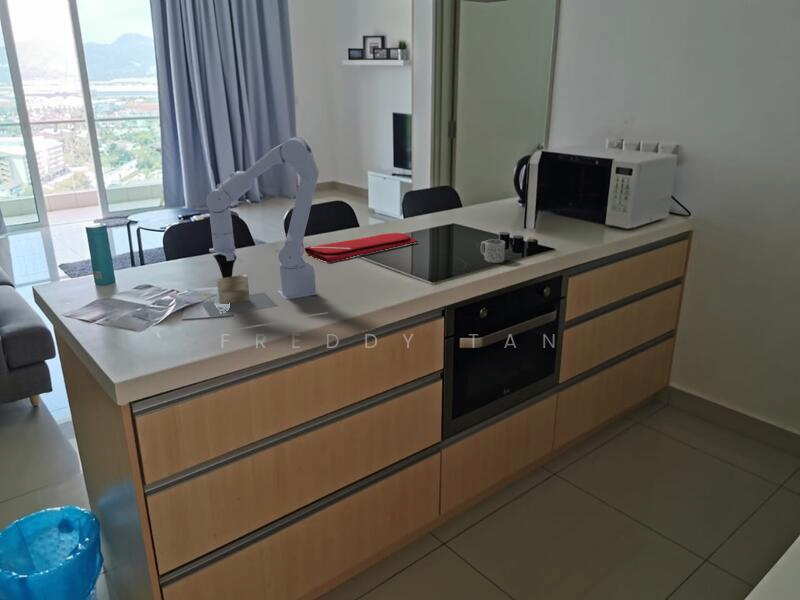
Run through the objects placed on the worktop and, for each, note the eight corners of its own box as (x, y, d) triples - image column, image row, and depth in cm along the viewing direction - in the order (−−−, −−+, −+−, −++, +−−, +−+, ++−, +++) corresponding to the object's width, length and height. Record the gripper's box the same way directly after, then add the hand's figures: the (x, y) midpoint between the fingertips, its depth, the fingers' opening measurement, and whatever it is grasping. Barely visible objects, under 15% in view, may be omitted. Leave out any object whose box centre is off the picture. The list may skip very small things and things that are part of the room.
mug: (508, 260, 206) (509, 242, 204) (494, 264, 203) (495, 245, 200) (487, 254, 214) (488, 236, 212) (473, 257, 210) (474, 239, 208)
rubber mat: (264, 293, 175) (264, 292, 175) (278, 307, 164) (277, 305, 164) (201, 304, 167) (201, 302, 167) (211, 319, 156) (211, 317, 156)
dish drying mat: (418, 245, 229) (418, 235, 228) (328, 265, 204) (327, 254, 203) (392, 237, 240) (392, 228, 239) (304, 255, 216) (303, 245, 215)
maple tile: (247, 298, 170) (245, 274, 168) (249, 300, 169) (247, 276, 166) (219, 302, 167) (216, 278, 164) (221, 304, 165) (218, 280, 163)
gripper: (202, 229, 171) (207, 274, 176) (213, 239, 159) (218, 288, 164) (227, 226, 174) (231, 270, 179) (239, 236, 162) (244, 284, 167)
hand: (227, 278), depth 172 cm, fingers closed
